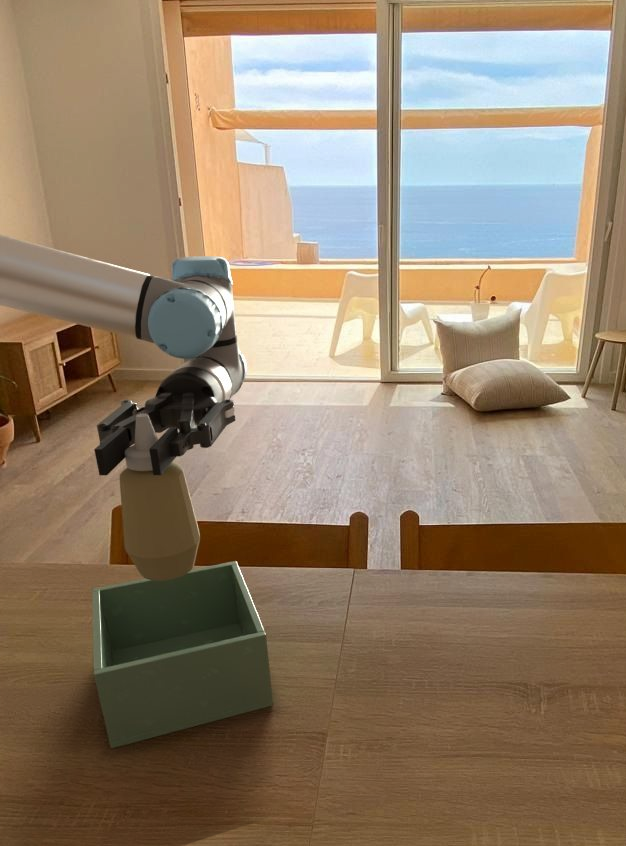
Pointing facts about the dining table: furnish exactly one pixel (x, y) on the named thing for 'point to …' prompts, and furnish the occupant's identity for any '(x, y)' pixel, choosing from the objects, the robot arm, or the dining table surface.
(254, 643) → the storage bin
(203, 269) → the robot arm
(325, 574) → the dining table surface
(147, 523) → the squeeze bottle
